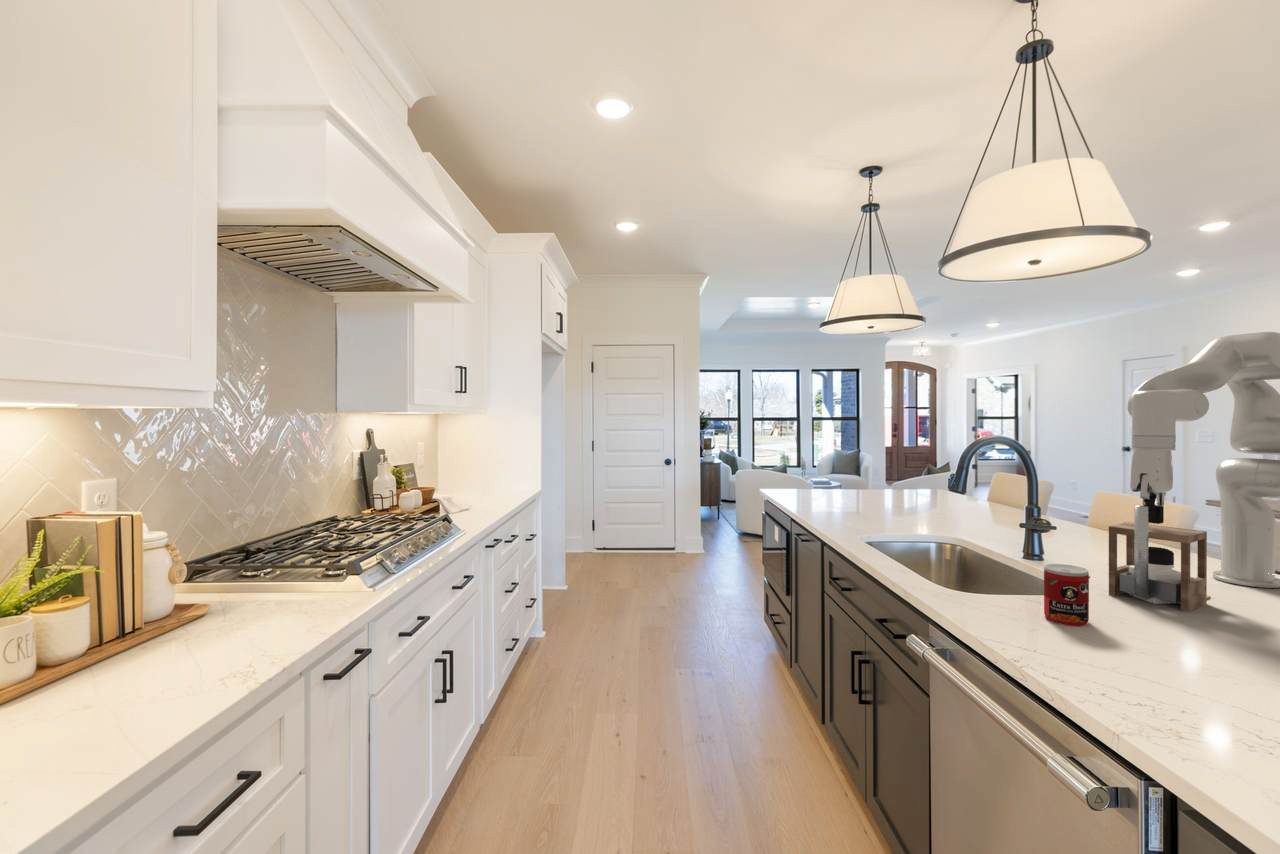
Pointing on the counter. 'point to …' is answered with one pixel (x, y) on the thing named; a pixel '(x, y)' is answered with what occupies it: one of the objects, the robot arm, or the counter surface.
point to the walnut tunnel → (1190, 589)
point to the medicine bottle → (1160, 570)
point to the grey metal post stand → (1146, 566)
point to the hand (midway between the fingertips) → (1153, 522)
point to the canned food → (1066, 594)
